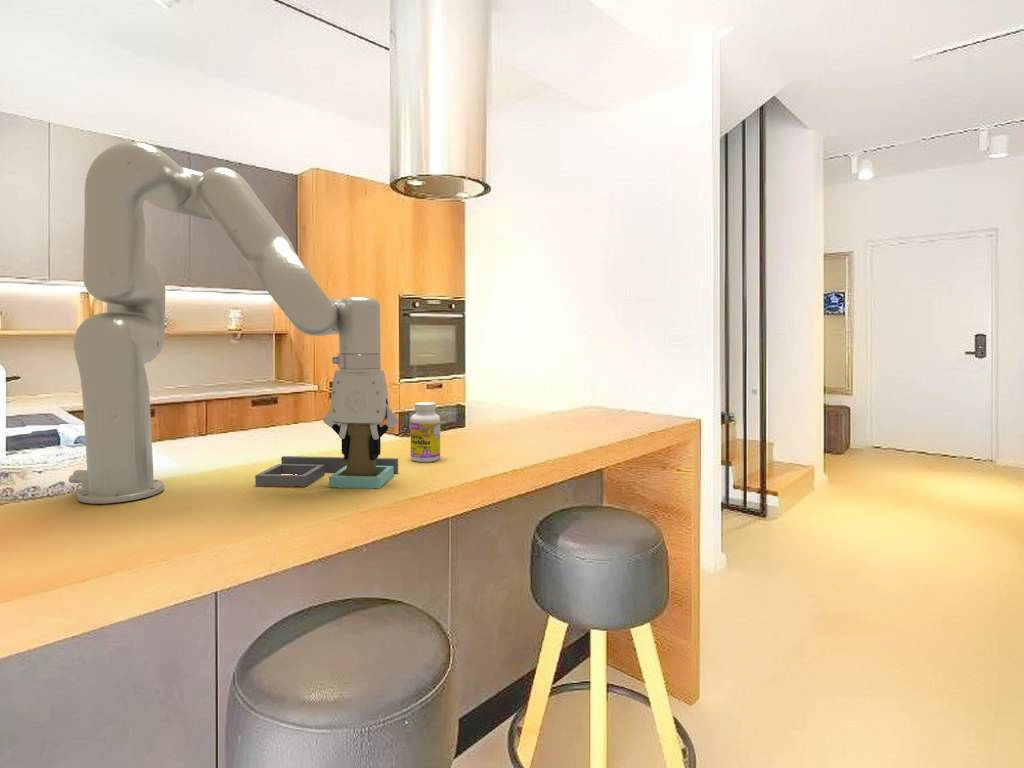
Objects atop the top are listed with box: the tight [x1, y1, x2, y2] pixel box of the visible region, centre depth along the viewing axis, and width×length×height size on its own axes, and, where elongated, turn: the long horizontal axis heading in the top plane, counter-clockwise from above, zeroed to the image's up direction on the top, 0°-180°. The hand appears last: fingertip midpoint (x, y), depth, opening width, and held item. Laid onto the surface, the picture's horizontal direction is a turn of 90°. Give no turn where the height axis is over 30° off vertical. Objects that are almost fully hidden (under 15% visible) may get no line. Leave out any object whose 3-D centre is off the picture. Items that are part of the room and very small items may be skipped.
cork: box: [346, 424, 377, 476], centre depth 110 cm, size 6×6×11 cm
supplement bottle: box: [409, 401, 441, 463], centre depth 130 cm, size 7×7×13 cm
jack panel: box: [254, 455, 399, 489], centre depth 112 cm, size 24×12×3 cm, turn 87°
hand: (361, 457), depth 110 cm, fingers open, 4 cm apart
